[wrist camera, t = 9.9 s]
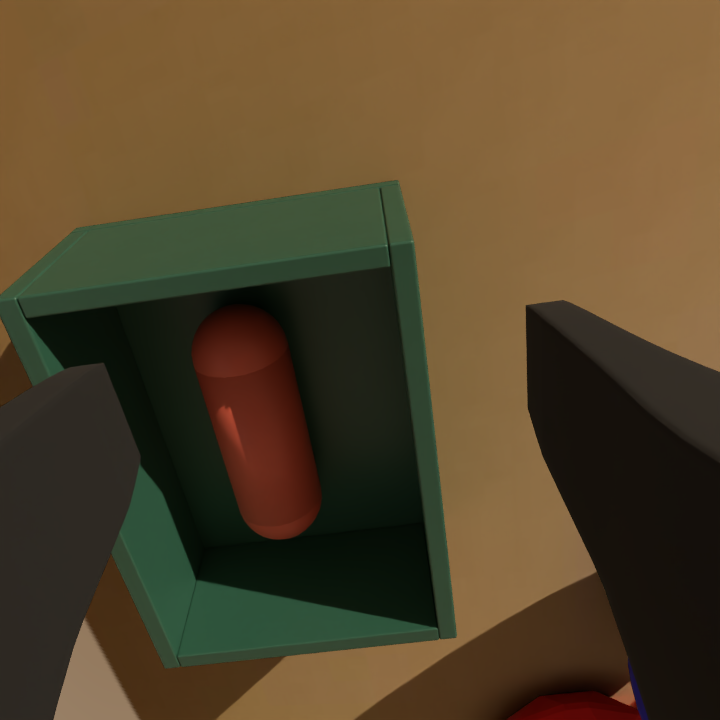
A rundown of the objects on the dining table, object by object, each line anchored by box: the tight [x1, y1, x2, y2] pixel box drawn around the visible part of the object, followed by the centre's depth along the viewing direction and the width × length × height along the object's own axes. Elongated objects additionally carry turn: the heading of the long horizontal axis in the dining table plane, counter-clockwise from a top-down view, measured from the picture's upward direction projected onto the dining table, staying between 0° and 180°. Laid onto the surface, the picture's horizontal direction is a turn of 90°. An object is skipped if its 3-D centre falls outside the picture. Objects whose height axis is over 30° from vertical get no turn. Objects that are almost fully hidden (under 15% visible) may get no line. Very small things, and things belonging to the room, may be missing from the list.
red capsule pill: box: [191, 304, 322, 540], centre depth 22 cm, size 9×3×3 cm, turn 8°
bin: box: [0, 180, 457, 669], centre depth 21 cm, size 10×14×6 cm
